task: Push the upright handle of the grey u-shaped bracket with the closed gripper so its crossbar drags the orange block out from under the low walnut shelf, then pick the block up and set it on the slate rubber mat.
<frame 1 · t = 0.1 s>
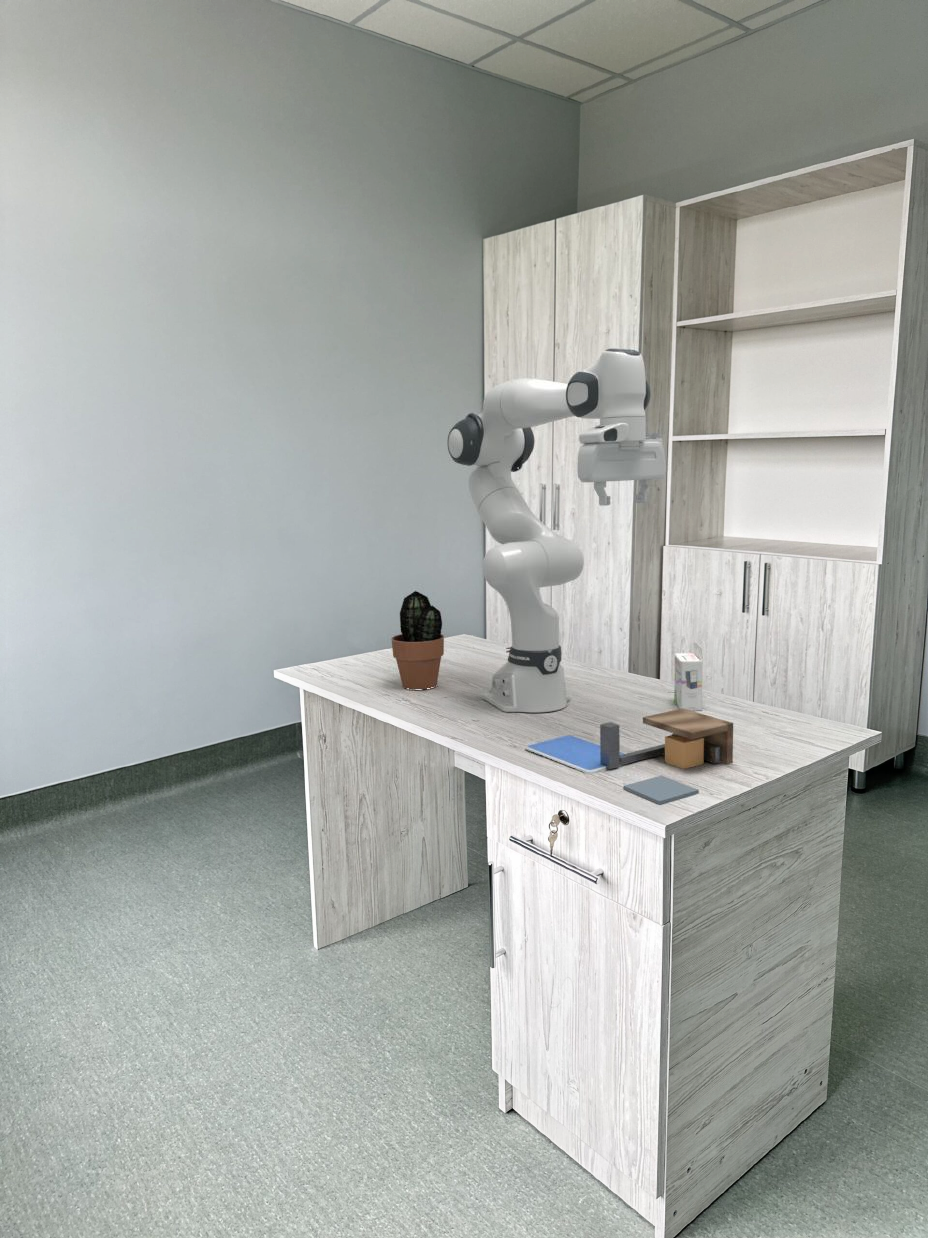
hand: (623, 504, 179), 48 cm above the table, tool pointing down, fingers open, 8 cm apart
grey u-shaped bracket: (660, 743, 168), point 4 cm above the table, slide at 0.0 cm
slate mat: (660, 791, 155), on the table
orange block: (684, 763, 170), on the table
ink box: (687, 707, 208), on the table
walnut shelf: (684, 762, 170), on the table
blue flat slab: (579, 758, 176), on the table
potted plant: (419, 687, 235), on the table
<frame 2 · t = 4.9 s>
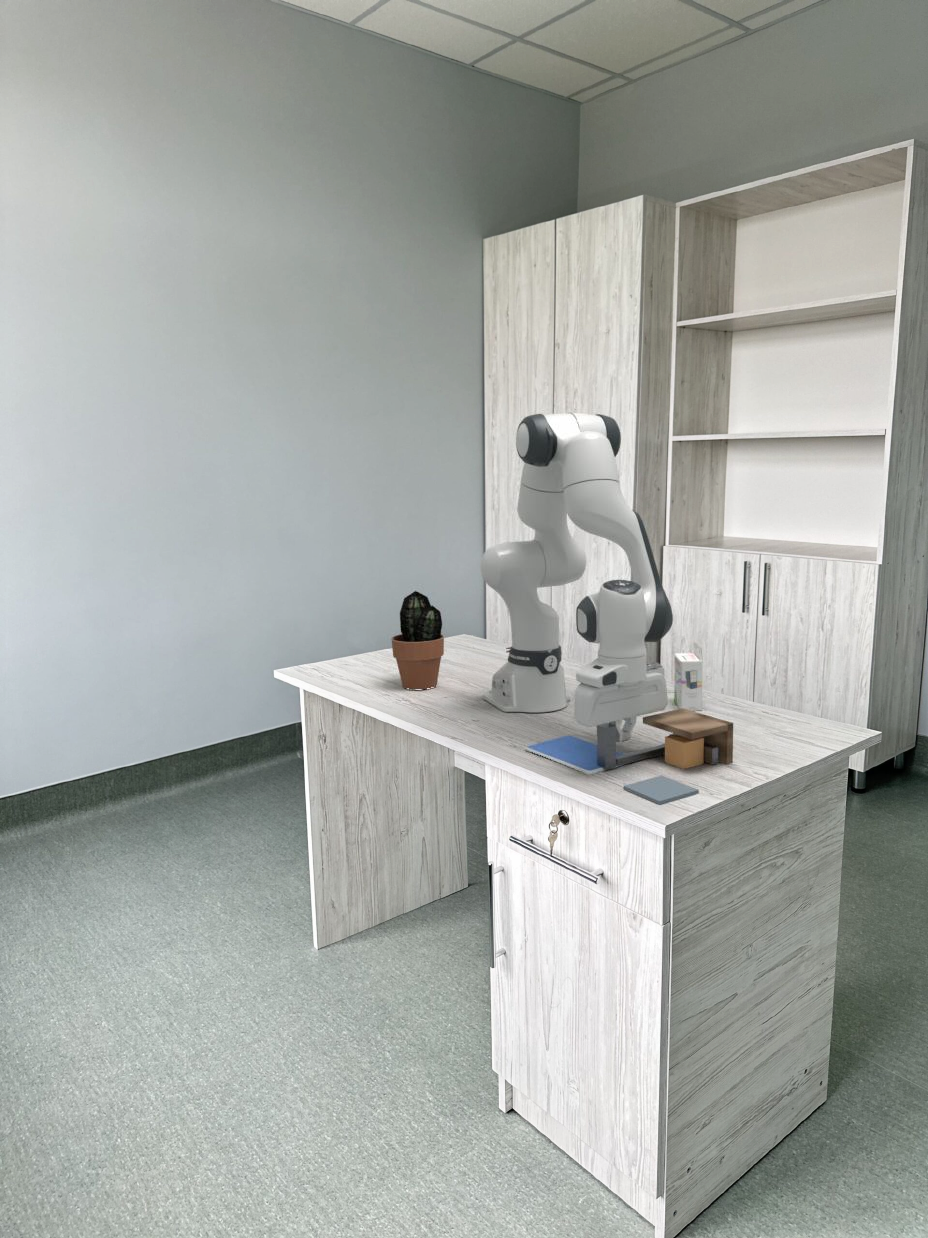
hand: (622, 740, 169), 5 cm above the table, tool pointing down, fingers closed
grey u-shaped bracket: (657, 744, 167), point 4 cm above the table, slide at 0.8 cm, touching gripper
everything else where it was.
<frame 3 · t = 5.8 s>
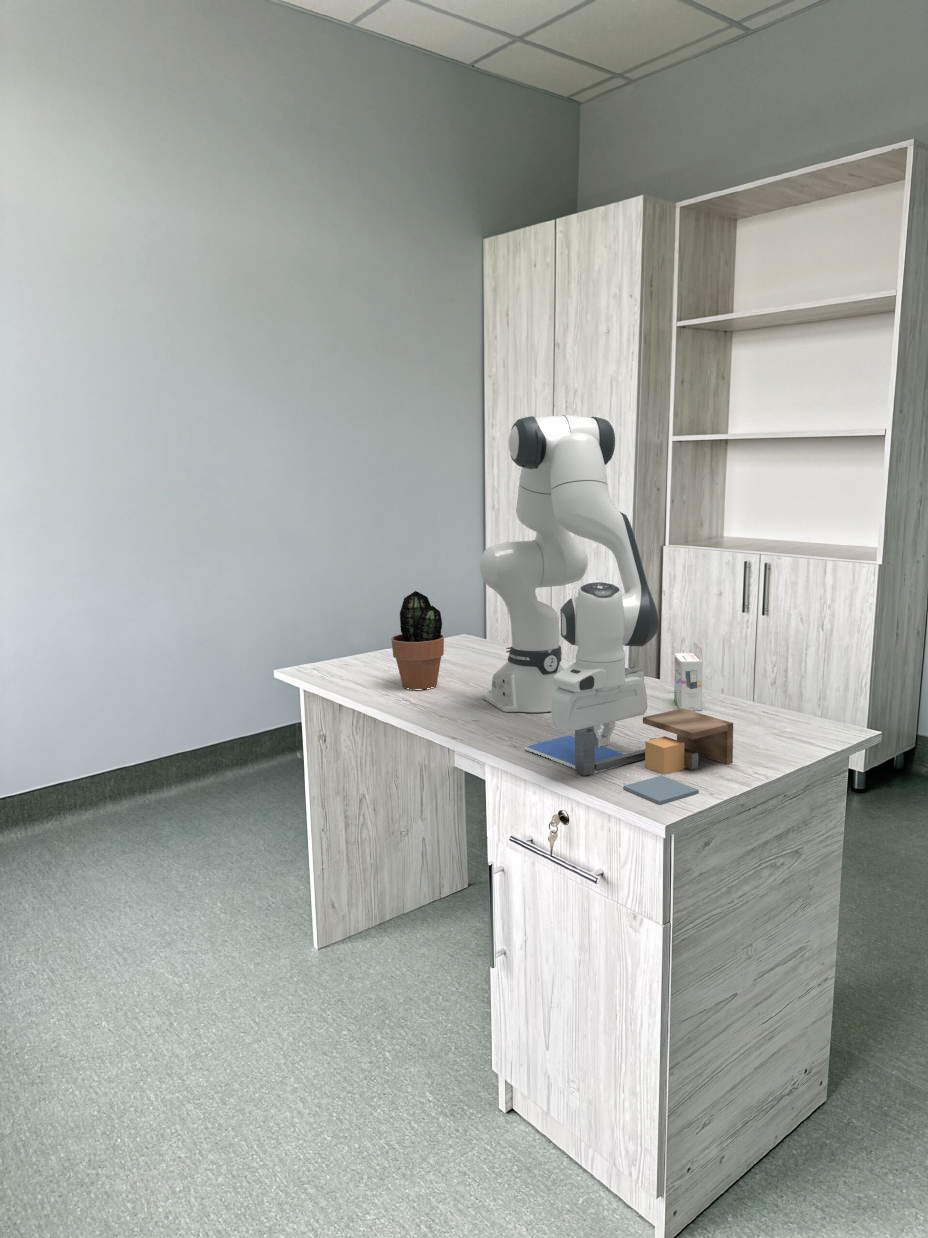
hand: (601, 746, 166), 5 cm above the table, tool pointing down, fingers closed
grey u-shaped bracket: (636, 749, 165), point 4 cm above the table, slide at 6.0 cm, touching gripper
orange block: (664, 767, 167), on the table
everything else where it was.
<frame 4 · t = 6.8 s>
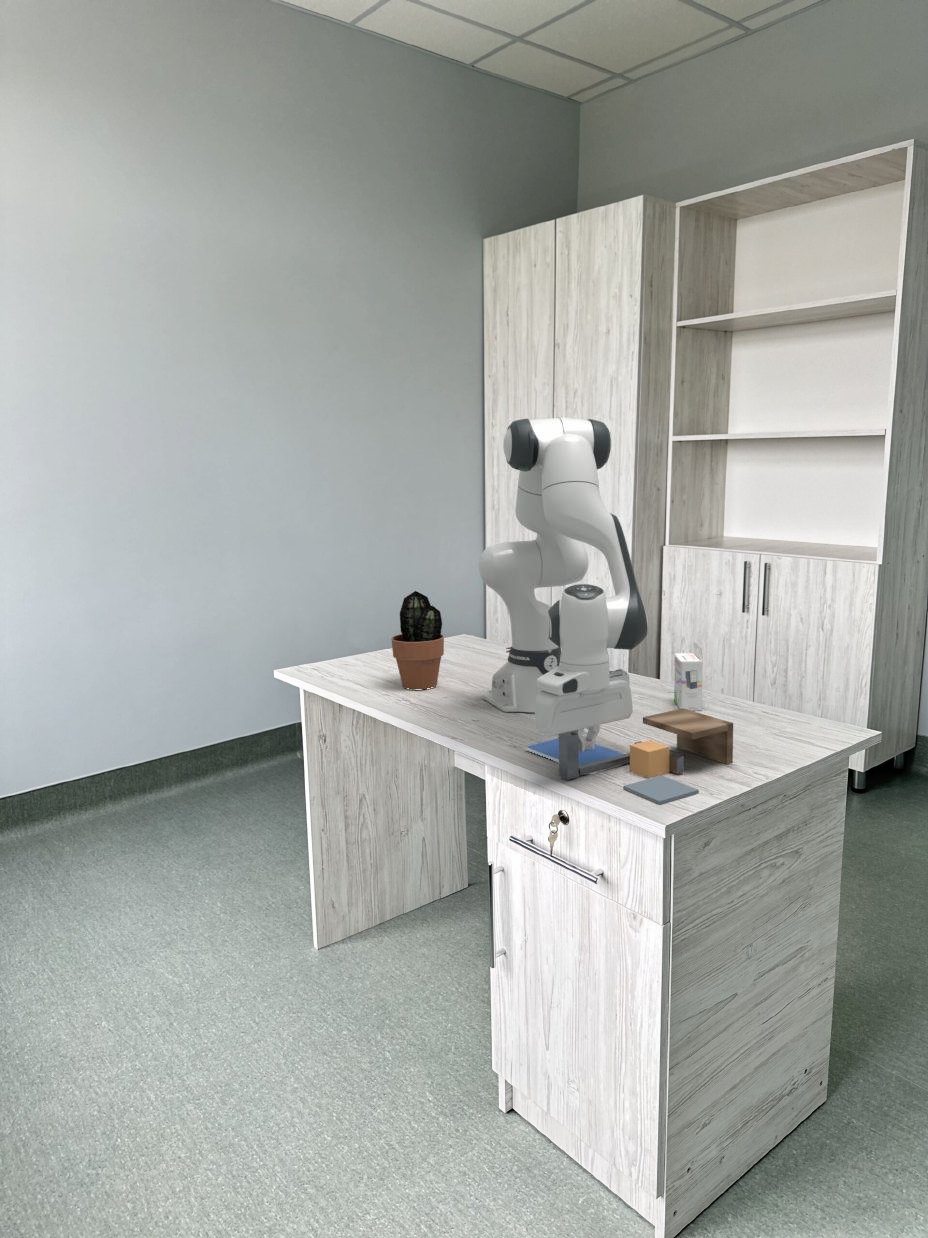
hand: (585, 749, 164), 5 cm above the table, tool pointing down, fingers closed
grey u-shaped bracket: (621, 753, 163), point 4 cm above the table, slide at 9.7 cm, touching gripper
orange block: (649, 772, 165), on the table
everything else where it was.
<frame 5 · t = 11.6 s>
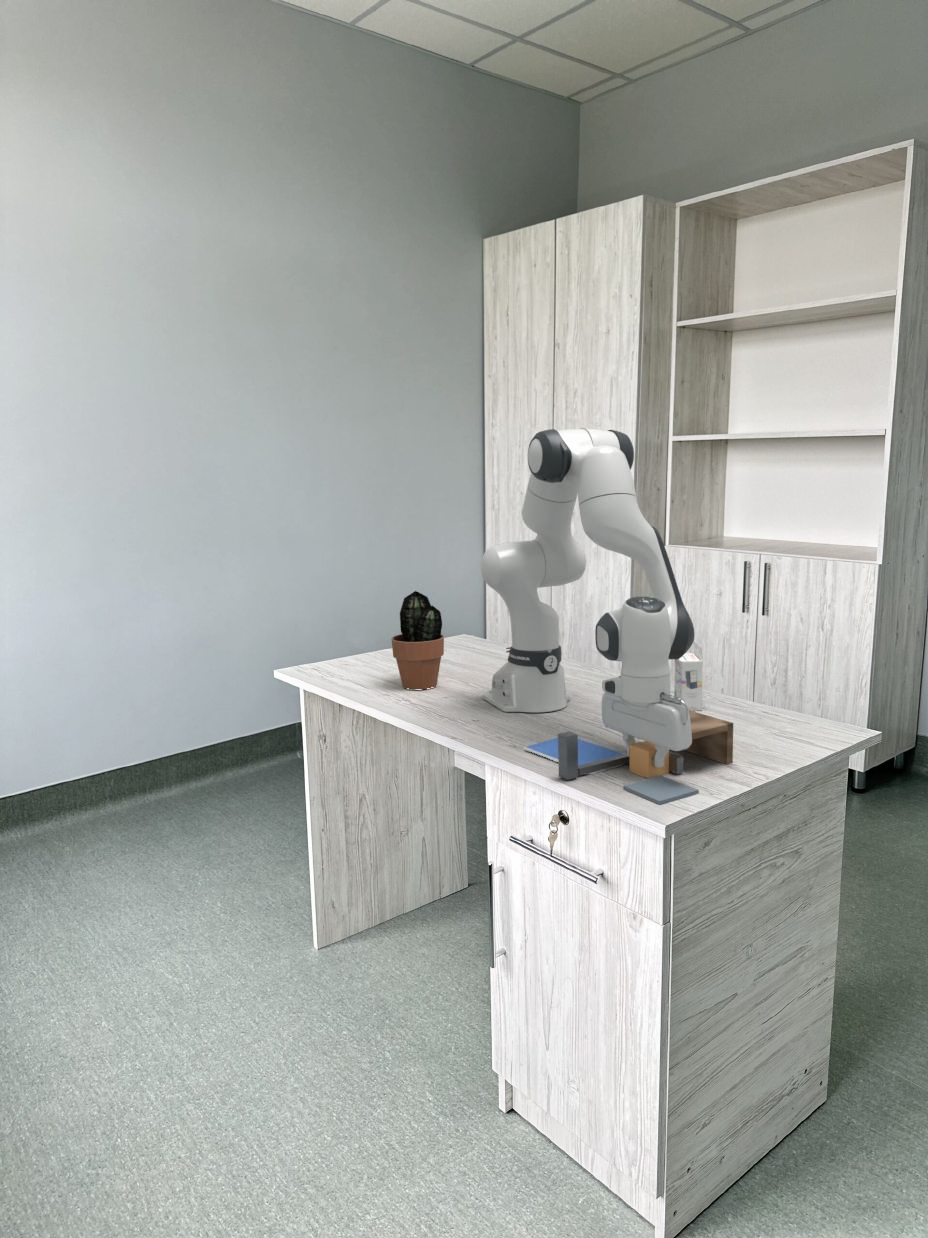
hand: (645, 761, 164), 2 cm above the table, tool pointing down, fingers closed on orange block, 5 cm apart
grey u-shaped bracket: (620, 753, 163), point 4 cm above the table, slide at 9.8 cm
orange block: (649, 771, 165), on the table, touching gripper
everything else where it was.
when the fingers open (4 cm above the table, at t = 16.7 s): orange block drops 1 cm, resting on slate mat.
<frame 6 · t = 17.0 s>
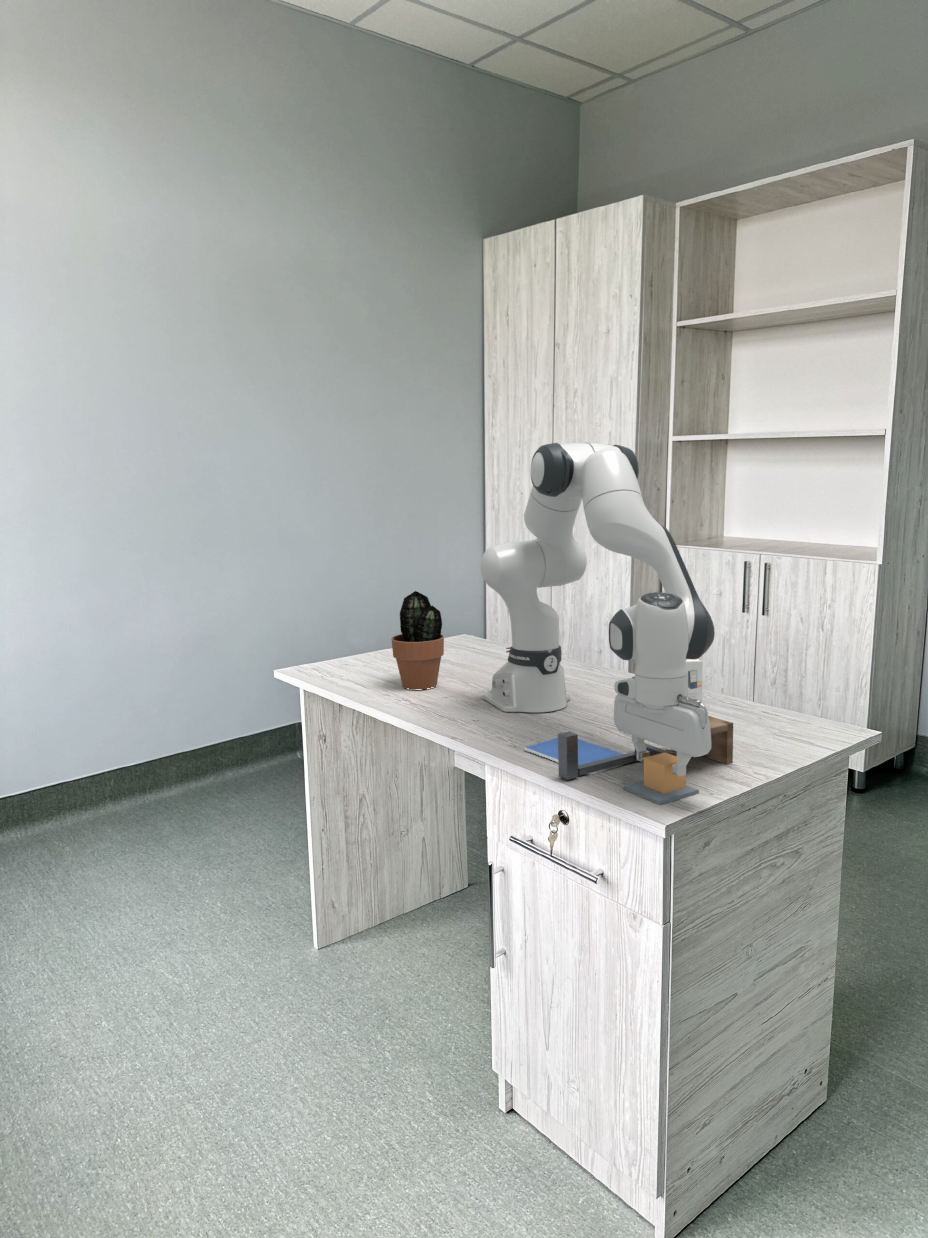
hand: (660, 768, 155), 4 cm above the table, tool pointing down, fingers open, 7 cm apart
orange block: (664, 786, 156), point 1 cm above the table, touching slate mat
everything else where it was.
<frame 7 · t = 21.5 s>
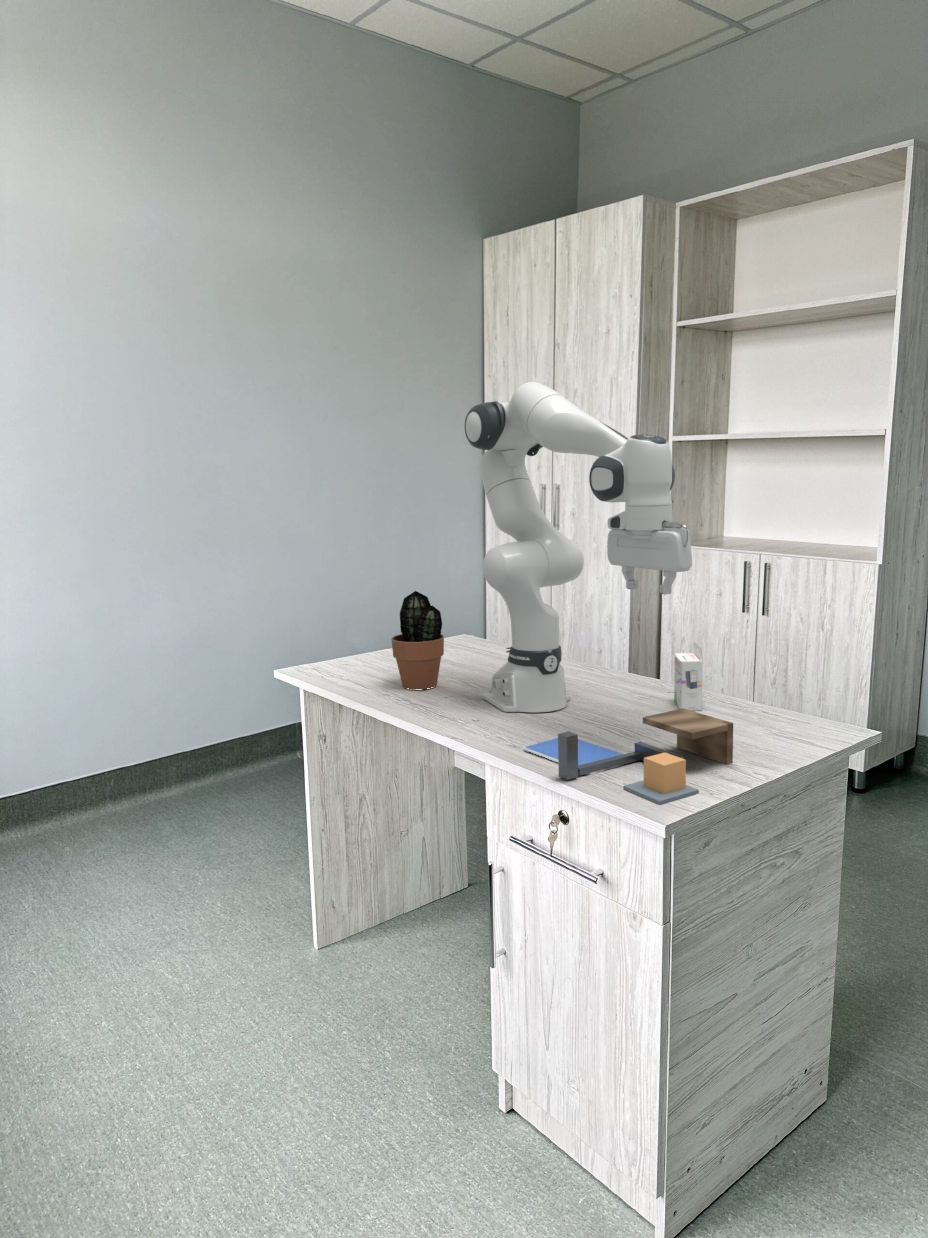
hand: (648, 591, 175), 31 cm above the table, tool pointing down, fingers open, 8 cm apart
nothing on the table moved.
at the end: orange block inside the target area on the slate mat (1.0 cm from its centre), point 0.6 cm above the slate mat's base; the gripper is holding nothing; grey u-shaped bracket slide at 9.8 cm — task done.
